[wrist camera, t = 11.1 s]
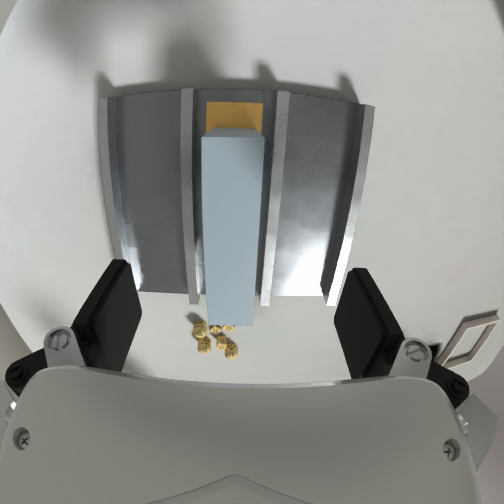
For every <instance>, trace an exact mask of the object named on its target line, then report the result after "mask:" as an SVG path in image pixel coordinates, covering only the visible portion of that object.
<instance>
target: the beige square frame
mask: <svg viewBox="0 0 504 504" xmlns="http://www.w3.org/2000/svg"><path fill="white" fill-rule="evenodd" d="M499 321H500V318H499V317H498V316H497V314H496V315H492V316H488V317H484V318H480V319H476V320H471V321H467V322H463V323H462V324H461V326H460V328H459V329H458V331H457V332H456V334H455V336H454V337H453V339H452V340H451V342H450V343H449V345H448V346H447V348H446V349H445V351H444V352H443V354H442V355H441V357H440V358H439V359H438V361H437V362H436V363H438V364H440V365H441V366H443V367H445V368H447V369H452V368H455V367H458V366H461V365H464V364H466V363H469V362H472V360H473V359H474V358H475V356H476V355H477V354H478V352H479V351H480V349H481V348H482V347H483V345H484V344H485V342H486V341H487V339H488V338H489V336H490V335H491V333H492V332H493V330H494V329H495V327H496V326H497V324H498V322H499ZM486 325H489V326H488V327H487V329H486V330H485V332H484V333H483V335H482V336H481V338H480V339H479V341H478V342H477V344H476V345H475V347H474V348H473V350H472V351H471V352H470V354H469V355H468V356H465V357H462V358H459V359H456V360H452V361H449V362H446V361H447V360H448V358H449V357H450V356H451V354H452V353H453V351H454V350H455V349H456V347H457V346H458V344H459V343H460V341H461V340H462V338H463V337H464V335H465V333H466V332H467V331H468V330H472V329H475V328H479V327H483V326H486Z"/></svg>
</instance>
